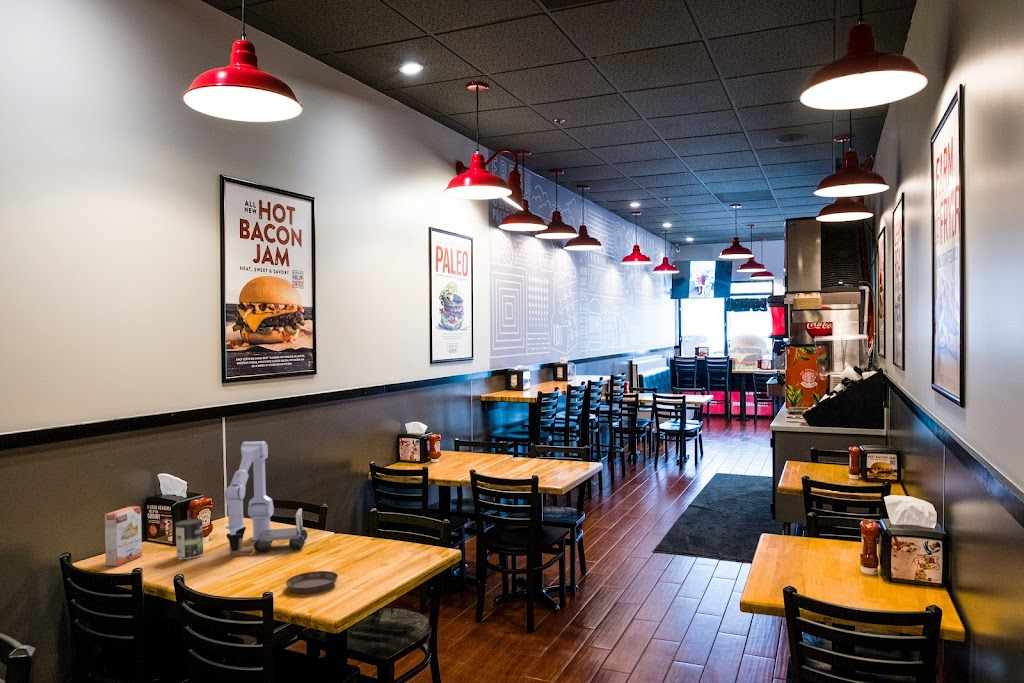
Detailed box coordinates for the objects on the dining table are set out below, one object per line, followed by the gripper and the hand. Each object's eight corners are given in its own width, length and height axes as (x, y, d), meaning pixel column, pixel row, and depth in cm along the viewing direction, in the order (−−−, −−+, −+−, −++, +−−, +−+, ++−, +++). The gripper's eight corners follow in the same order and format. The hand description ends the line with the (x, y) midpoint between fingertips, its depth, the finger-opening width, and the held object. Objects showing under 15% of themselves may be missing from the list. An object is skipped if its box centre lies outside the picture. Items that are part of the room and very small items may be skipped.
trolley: (259, 545, 306) (258, 511, 306) (307, 541, 310) (306, 507, 310) (254, 553, 294) (252, 518, 294) (304, 549, 297) (303, 514, 297)
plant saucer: (275, 590, 248) (274, 582, 248) (315, 576, 262) (314, 567, 262) (309, 599, 238) (309, 590, 238) (348, 583, 253) (348, 574, 253)
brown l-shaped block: (232, 553, 295) (232, 539, 295) (252, 551, 297) (252, 537, 297) (230, 556, 291) (229, 542, 291) (250, 554, 292) (250, 540, 292)
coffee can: (208, 551, 299) (207, 518, 299) (196, 559, 289) (195, 524, 289) (183, 552, 299) (182, 519, 299) (171, 560, 289) (170, 525, 289)
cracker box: (118, 567, 282) (116, 514, 282) (105, 566, 283) (103, 514, 283) (143, 556, 296) (141, 506, 296) (130, 556, 297) (128, 505, 297)
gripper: (229, 511, 300) (230, 544, 300) (221, 520, 286) (222, 554, 285) (246, 510, 301) (248, 542, 301) (240, 518, 287) (241, 552, 287)
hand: (237, 548), depth 293 cm, fingers open, 7 cm apart
